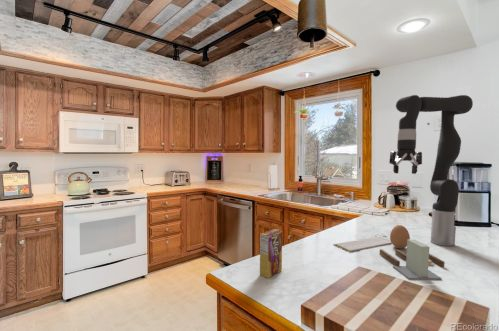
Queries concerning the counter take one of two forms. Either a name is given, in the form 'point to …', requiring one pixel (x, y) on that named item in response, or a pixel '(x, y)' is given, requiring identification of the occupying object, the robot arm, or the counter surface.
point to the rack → (403, 256)
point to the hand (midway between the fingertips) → (405, 173)
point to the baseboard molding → (363, 243)
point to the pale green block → (417, 257)
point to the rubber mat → (413, 276)
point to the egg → (399, 236)
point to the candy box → (270, 253)
